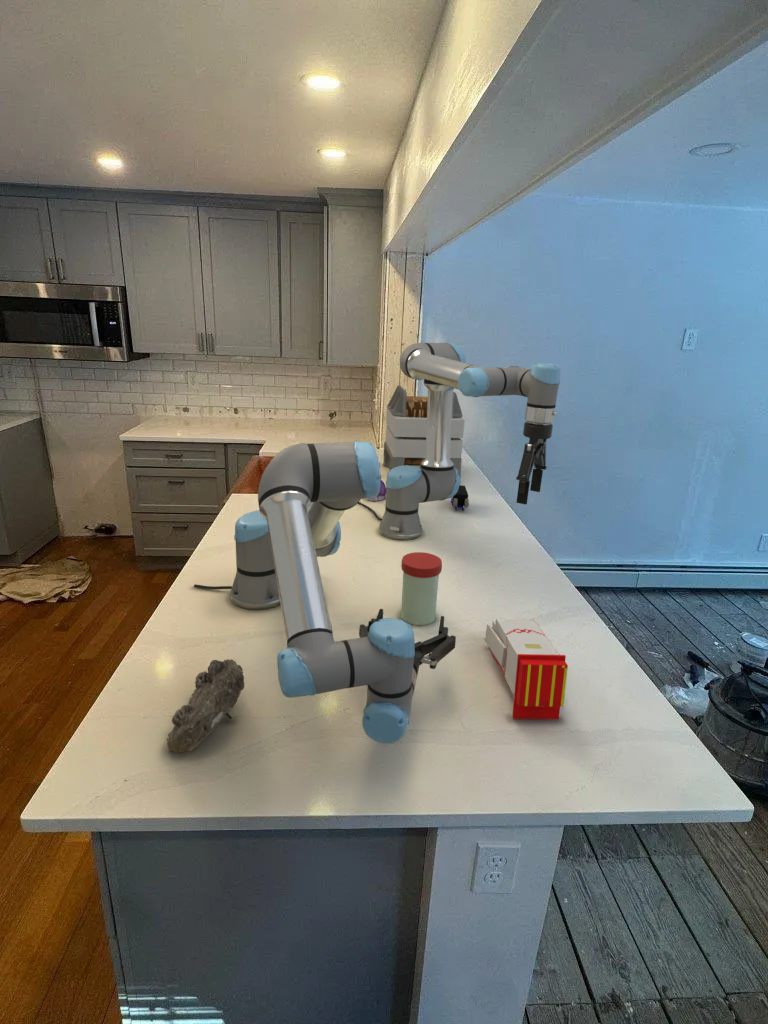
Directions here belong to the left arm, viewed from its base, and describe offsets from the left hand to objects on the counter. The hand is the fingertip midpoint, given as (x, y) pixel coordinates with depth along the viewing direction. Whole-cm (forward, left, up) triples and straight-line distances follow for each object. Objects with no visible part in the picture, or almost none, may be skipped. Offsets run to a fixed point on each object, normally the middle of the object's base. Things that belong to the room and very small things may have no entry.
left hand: (411, 617), depth 126 cm
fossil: (-34, -28, -10) cm, 45 cm away
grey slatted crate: (-15, +155, -10) cm, 156 cm away
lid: (0, +19, +5) cm, 20 cm away
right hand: (+26, +47, +16) cm, 56 cm away
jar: (0, +19, -10) cm, 22 cm away
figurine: (-28, +110, -10) cm, 114 cm away
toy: (+24, -2, -10) cm, 27 cm away
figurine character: (+6, +110, -10) cm, 110 cm away
